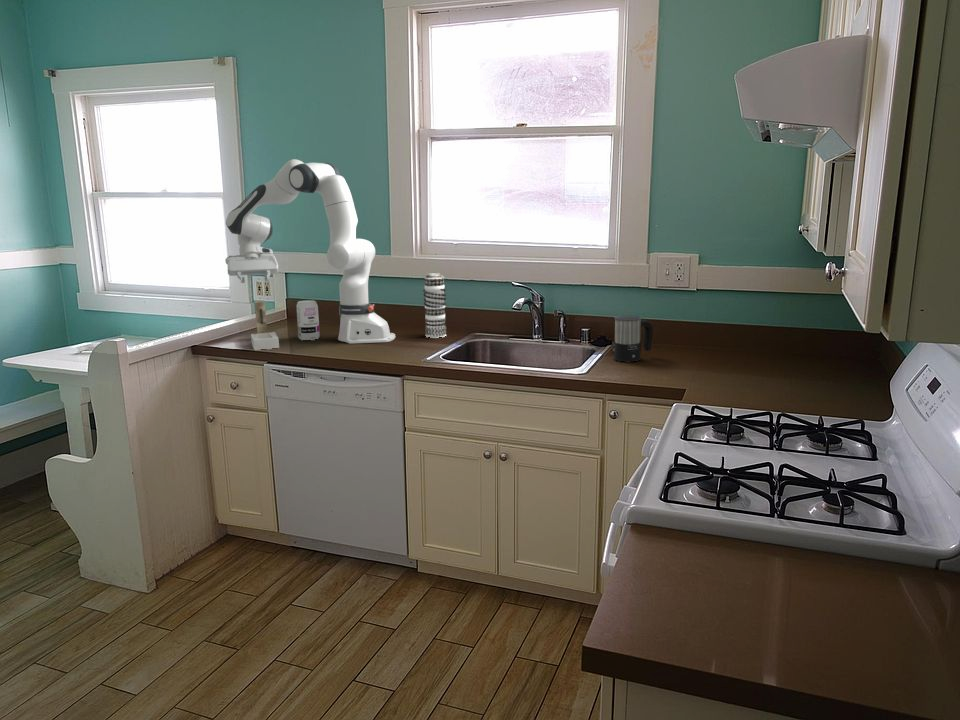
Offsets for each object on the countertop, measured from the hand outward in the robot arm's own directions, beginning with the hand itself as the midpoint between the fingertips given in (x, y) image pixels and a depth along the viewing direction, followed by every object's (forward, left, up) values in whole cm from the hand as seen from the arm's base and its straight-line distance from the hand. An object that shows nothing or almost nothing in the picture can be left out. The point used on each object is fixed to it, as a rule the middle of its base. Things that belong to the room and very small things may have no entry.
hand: (254, 281), depth 308 cm
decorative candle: (-74, +5, -22) cm, 78 cm away
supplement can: (-24, +11, -22) cm, 35 cm away
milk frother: (-145, +42, -22) cm, 153 cm away
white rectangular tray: (-11, +25, -22) cm, 35 cm away
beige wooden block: (-5, +11, -22) cm, 25 cm away
